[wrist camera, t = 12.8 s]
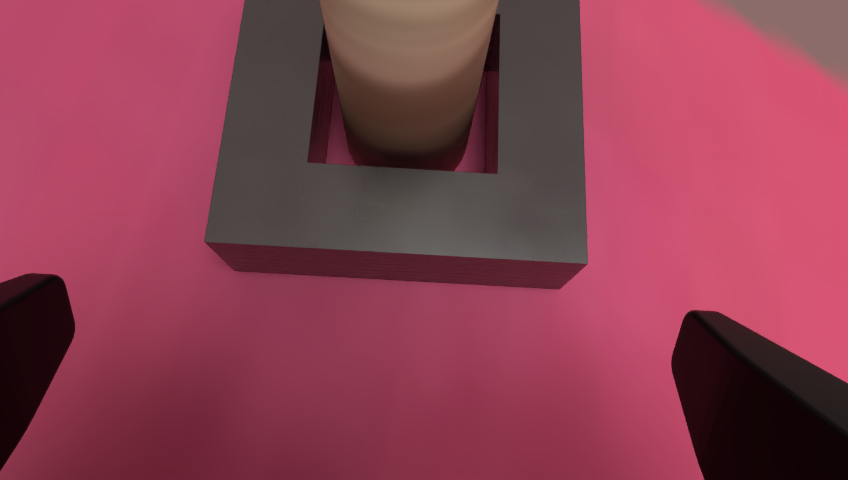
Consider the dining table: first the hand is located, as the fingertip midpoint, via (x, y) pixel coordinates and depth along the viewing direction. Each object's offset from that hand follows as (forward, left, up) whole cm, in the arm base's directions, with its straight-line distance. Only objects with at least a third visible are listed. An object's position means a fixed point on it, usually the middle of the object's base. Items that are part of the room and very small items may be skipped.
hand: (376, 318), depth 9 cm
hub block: (+2, +8, -9) cm, 12 cm away
